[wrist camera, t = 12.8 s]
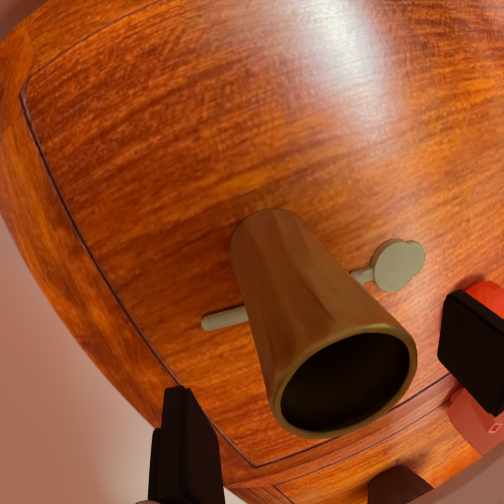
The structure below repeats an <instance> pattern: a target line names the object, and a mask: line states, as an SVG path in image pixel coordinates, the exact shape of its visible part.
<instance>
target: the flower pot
mask: <svg viewBox="0 0 504 504" xmlns="http://www.w3.org/2000/svg"><path fill="white" fill-rule="evenodd" d="M433 489H434V488H433V487H432V486H431V485H430V484H428V483H427V482H426V481H425V480H424V479H422V478H421V477H420V476H418V475H417V474H416V473H414V472H413V471H412V470H410V469H409V468H407V467H406V466H397V467H394V468H391V469H389V470H387V471H385V472H383V473H381V474H379V475H378V476H376V477H375V478H374V479H373V480H372V481H371V482H370V483H369V485H368V504H407V503H409V502H411V501H413V500H415V499H417V498H418V497H420V496H422V495H424V494H426V493H427V492H429V491H431V490H433Z"/></svg>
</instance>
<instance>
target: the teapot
mask: <svg viewBox="0 0 504 504" xmlns="http://www.w3.org/2000/svg"><path fill="white" fill-rule="evenodd" d="M450 402H451V403H453V404H452V405H451V406H450V407H449V409H448V410H447V414H448V417H449V419H450V421H451V423H452V424H453V426H454V427H455V428H456V430H457V431H458V432H459V433H460V434H461V435H462V436H463V437H464V439H465V440H466V441H467V442H468V443H469V444H470V445H471V446H473V447H474V448H475V449H476V450H477V451H478V452H479V453H480V454H481V455H482V456H484V455H486V454H487V453H488V452H489V451H491V450H492V449H493V448H495V447H496V446H497V445H498V444H500V443H501V442H502V441H503V440H504V411H503V412H502V413H501V414H500V415H498V416H497V417H496V418H495V417H494V416H493V415H492V414H489V413H487V412H486V411H485V410H484V409H483V408H482V407H481V406H480V404H479V403H478V402H477V401H476V400H475V399H474V398H473V397H472V396H471V394H470V393H469V392H468V391H467V390H466V389H465V388H460V389H458V390H457V391H456V392H455V393H454V394H453V395H452V397H451V399H450Z"/></svg>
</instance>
